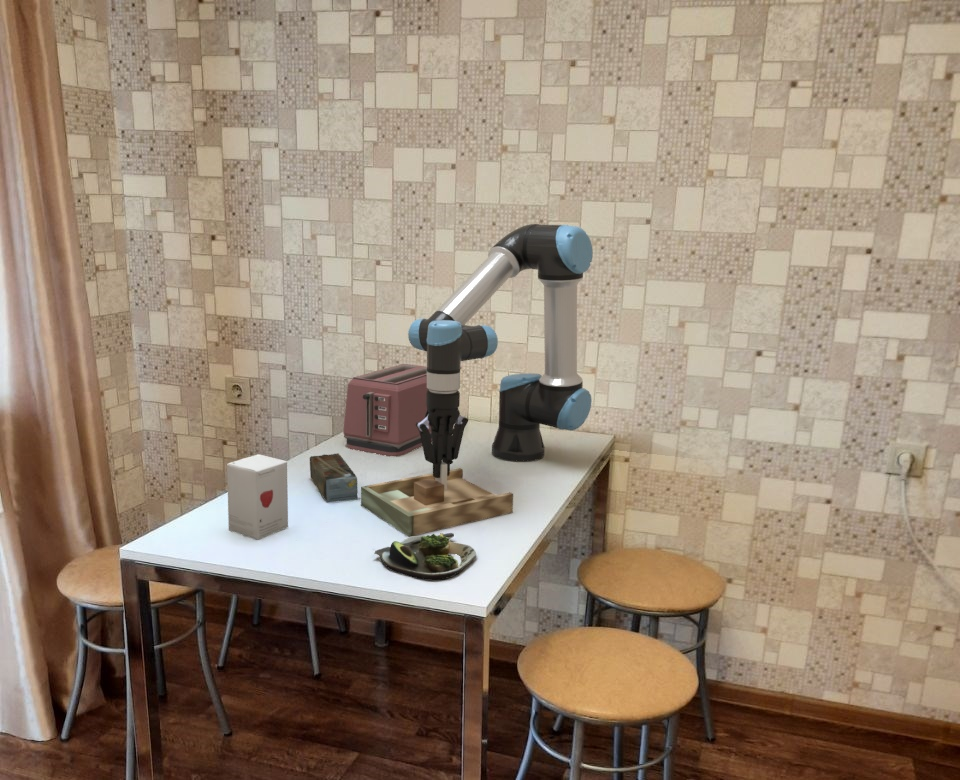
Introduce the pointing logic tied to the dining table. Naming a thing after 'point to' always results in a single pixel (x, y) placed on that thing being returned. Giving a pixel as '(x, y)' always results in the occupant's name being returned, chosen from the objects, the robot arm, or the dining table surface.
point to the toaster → (386, 410)
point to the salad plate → (427, 556)
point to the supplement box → (257, 496)
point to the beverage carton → (333, 478)
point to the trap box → (416, 518)
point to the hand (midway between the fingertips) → (440, 490)
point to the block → (429, 491)
